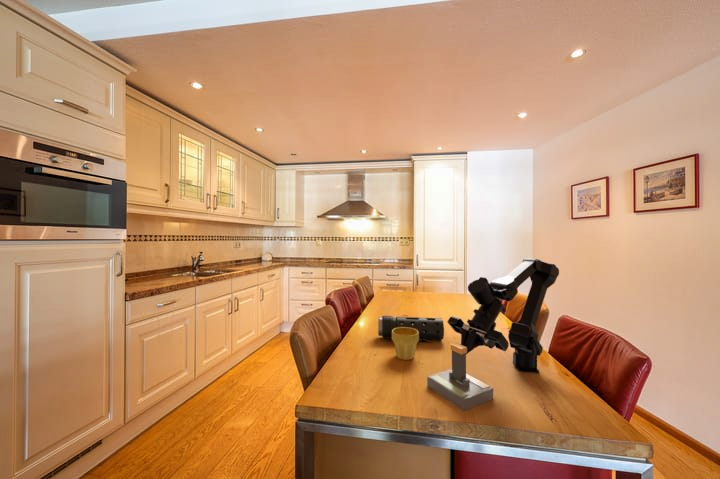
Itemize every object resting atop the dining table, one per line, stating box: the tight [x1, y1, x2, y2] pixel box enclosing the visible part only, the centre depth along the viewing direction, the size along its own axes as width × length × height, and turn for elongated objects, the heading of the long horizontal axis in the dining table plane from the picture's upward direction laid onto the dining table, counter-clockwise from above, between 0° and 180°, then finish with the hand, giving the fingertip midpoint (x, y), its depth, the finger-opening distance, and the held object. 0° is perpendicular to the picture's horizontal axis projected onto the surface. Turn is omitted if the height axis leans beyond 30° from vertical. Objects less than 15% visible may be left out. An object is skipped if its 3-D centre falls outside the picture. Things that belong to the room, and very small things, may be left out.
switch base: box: [426, 368, 494, 412], centre depth 84 cm, size 12×14×5 cm
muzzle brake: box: [377, 315, 445, 342], centre depth 126 cm, size 10×28×10 cm, turn 84°
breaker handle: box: [450, 342, 467, 384], centre depth 83 cm, size 2×4×11 cm, turn 29°
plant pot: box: [391, 327, 420, 361], centre depth 108 cm, size 10×10×10 cm
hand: (461, 355), depth 84 cm, fingers closed, pressing on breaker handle
